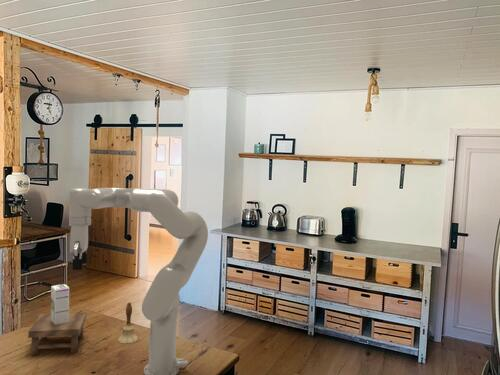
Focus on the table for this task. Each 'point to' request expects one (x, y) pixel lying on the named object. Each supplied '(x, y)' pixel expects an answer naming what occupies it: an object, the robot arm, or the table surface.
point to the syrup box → (59, 304)
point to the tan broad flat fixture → (56, 332)
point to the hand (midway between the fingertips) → (80, 266)
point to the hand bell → (128, 329)
